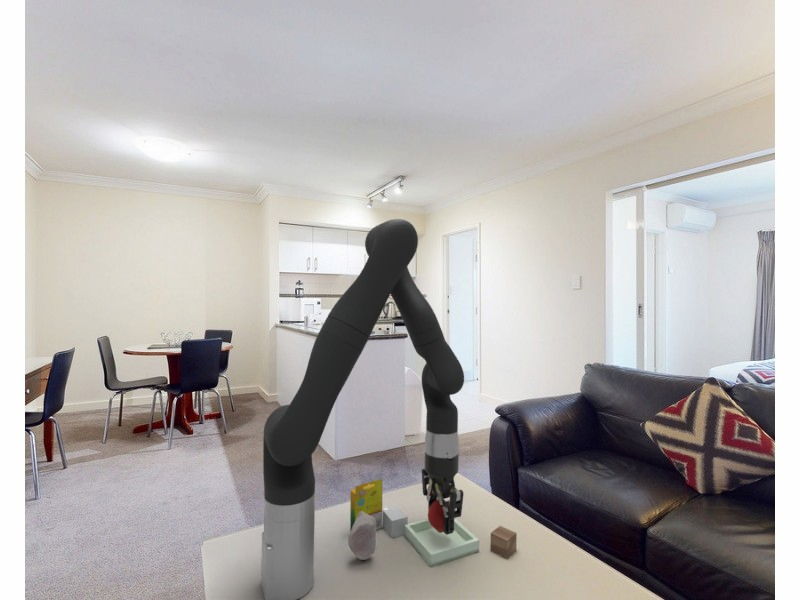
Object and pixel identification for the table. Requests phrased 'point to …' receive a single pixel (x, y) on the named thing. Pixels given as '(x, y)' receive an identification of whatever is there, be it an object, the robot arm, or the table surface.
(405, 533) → the dish
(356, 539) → the fossil
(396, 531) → the grey block
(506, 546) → the walnut block
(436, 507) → the onion
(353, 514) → the crayon box
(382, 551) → the table surface
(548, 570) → the table surface
